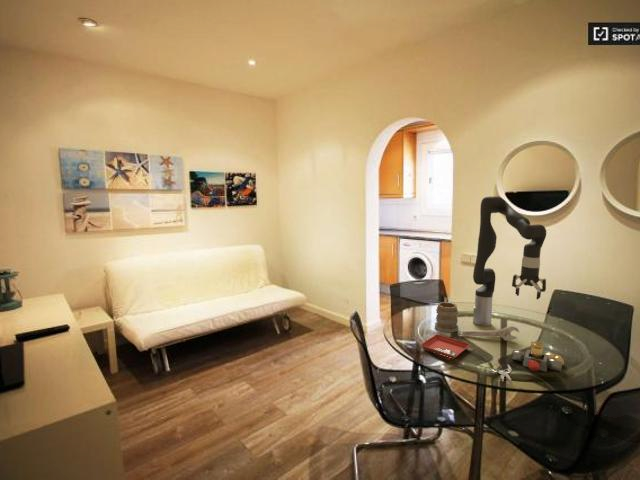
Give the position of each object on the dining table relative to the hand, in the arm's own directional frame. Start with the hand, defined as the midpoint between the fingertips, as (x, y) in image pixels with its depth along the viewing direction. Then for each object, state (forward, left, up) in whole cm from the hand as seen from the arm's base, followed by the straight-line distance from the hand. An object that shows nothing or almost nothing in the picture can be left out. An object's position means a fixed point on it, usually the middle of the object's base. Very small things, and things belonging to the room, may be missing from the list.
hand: (527, 297), depth 174 cm
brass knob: (+7, -17, -24) cm, 31 cm away
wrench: (-17, 0, -27) cm, 32 cm away
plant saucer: (-31, -26, -27) cm, 48 cm away
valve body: (+7, -19, -26) cm, 33 cm away
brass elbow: (+12, -8, -24) cm, 28 cm away
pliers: (-4, -34, -27) cm, 43 cm away
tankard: (-41, +5, -26) cm, 49 cm away
